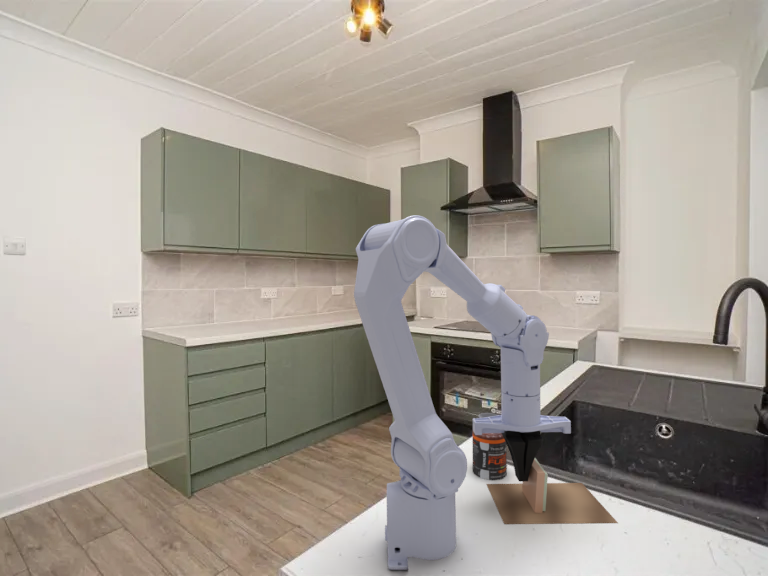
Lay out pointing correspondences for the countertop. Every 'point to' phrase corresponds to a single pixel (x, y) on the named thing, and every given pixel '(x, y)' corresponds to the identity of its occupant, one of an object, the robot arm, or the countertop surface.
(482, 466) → the supplement bottle
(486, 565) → the countertop surface
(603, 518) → the board
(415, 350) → the robot arm
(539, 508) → the tile
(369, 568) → the countertop surface
